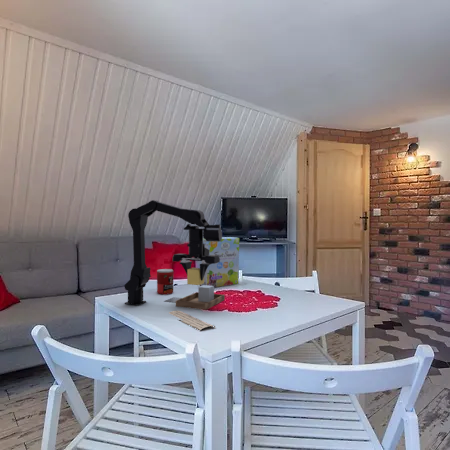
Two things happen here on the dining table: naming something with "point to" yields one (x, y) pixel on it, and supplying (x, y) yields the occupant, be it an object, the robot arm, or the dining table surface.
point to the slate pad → (172, 300)
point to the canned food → (165, 281)
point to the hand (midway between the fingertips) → (195, 279)
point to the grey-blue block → (205, 293)
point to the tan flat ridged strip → (190, 320)
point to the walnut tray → (193, 301)
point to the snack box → (222, 262)
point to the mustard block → (194, 276)
